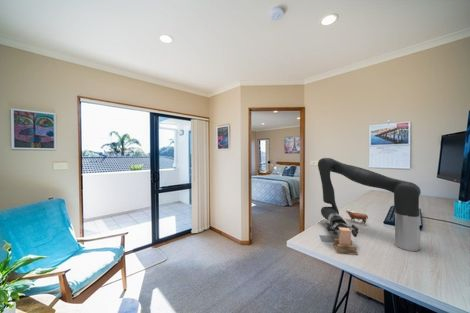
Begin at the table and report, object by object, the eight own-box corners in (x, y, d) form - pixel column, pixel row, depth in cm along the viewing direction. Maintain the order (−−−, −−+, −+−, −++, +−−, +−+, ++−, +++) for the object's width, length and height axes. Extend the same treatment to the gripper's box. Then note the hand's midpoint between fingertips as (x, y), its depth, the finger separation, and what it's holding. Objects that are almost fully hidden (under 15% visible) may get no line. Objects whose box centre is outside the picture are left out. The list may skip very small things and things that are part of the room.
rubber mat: (333, 236, 109) (333, 236, 109) (337, 243, 101) (337, 243, 101) (319, 235, 111) (319, 235, 111) (321, 242, 103) (321, 241, 103)
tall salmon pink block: (348, 247, 96) (348, 227, 95) (350, 250, 92) (350, 230, 92) (338, 246, 97) (338, 227, 96) (340, 249, 93) (340, 230, 93)
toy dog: (346, 219, 135) (346, 208, 134) (368, 224, 124) (368, 212, 124) (343, 220, 132) (343, 209, 132) (366, 226, 121) (366, 214, 121)
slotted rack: (351, 247, 97) (351, 239, 97) (357, 256, 90) (357, 247, 89) (332, 245, 100) (332, 238, 99) (337, 254, 92) (337, 245, 92)
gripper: (323, 214, 110) (330, 225, 94) (350, 216, 106) (362, 228, 91) (323, 227, 110) (330, 240, 95) (350, 229, 107) (362, 243, 91)
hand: (345, 234), depth 93 cm, fingers open, 8 cm apart
